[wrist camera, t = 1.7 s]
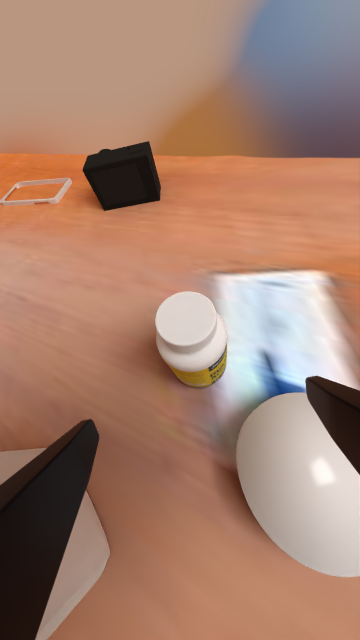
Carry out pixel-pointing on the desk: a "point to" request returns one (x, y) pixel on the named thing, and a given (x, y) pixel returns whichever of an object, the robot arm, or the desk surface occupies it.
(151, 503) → the desk surface
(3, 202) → the phone case
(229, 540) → the desk surface
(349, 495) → the plinth
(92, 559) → the photo printer
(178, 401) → the desk surface
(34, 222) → the desk surface
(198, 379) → the supplement bottle
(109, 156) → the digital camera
